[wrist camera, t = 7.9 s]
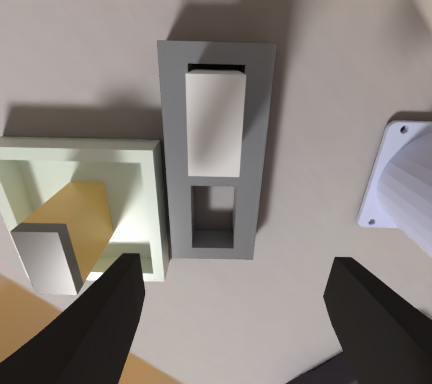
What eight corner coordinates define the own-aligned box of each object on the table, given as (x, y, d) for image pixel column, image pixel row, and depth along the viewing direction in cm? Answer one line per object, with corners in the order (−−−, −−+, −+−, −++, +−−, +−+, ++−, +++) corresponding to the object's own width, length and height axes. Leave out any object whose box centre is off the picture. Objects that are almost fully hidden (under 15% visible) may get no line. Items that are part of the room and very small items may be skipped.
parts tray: (160, 139, 18) (152, 150, 16) (169, 261, 22) (164, 281, 20) (1, 136, 18) (-27, 146, 16) (45, 258, 22) (27, 278, 20)
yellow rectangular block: (103, 182, 18) (57, 232, 13) (113, 233, 20) (77, 294, 15) (69, 181, 18) (10, 231, 13) (83, 232, 20) (35, 293, 15)
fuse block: (269, 45, 15) (276, 43, 13) (249, 241, 21) (252, 259, 19) (164, 42, 15) (156, 40, 13) (176, 239, 21) (172, 257, 19)
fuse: (236, 69, 16) (246, 75, 10) (232, 141, 18) (239, 177, 12) (196, 68, 16) (185, 73, 10) (197, 140, 18) (188, 175, 12)
